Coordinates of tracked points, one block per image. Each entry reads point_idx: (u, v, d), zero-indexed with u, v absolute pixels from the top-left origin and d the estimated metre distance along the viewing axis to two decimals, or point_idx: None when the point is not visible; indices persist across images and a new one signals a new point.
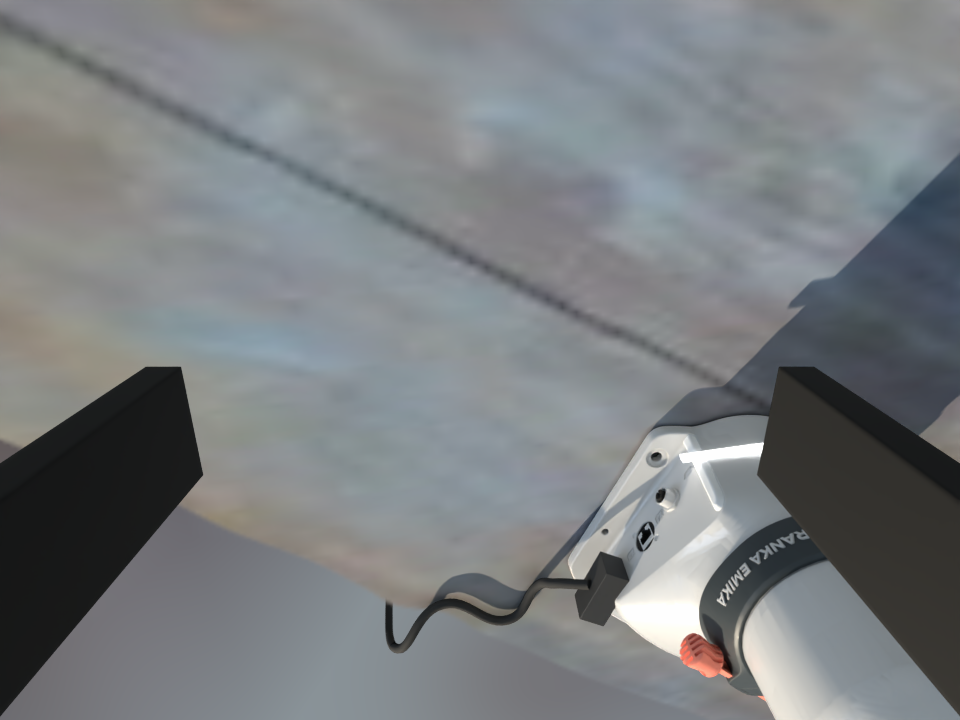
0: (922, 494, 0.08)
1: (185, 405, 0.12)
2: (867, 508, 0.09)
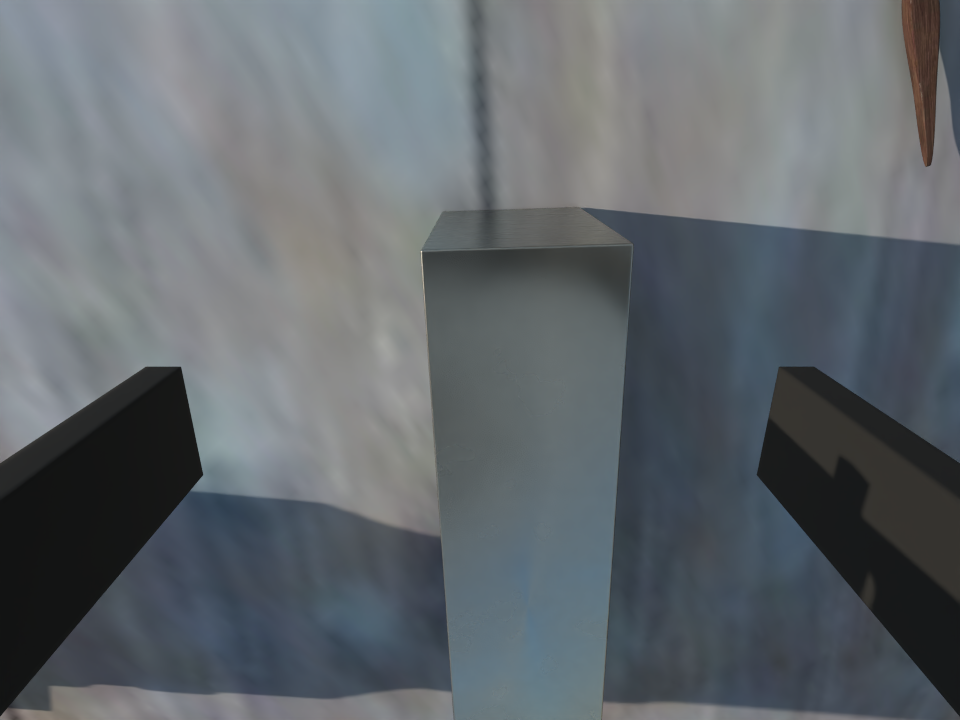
0: (922, 494, 0.08)
1: (184, 405, 0.12)
2: (867, 508, 0.09)
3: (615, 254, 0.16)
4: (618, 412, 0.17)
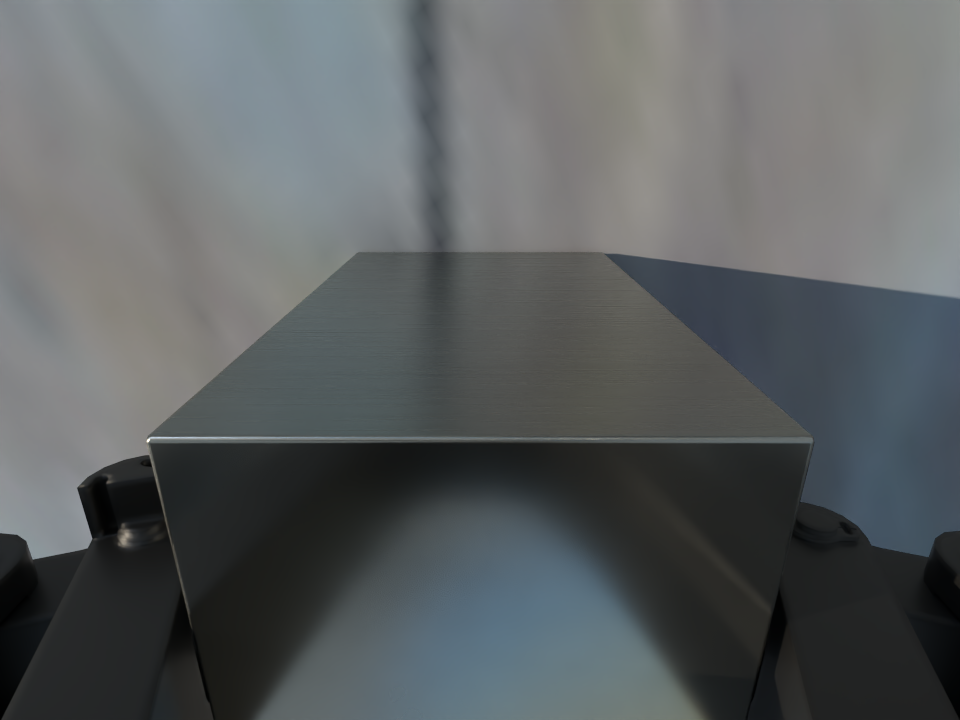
0: None
1: None
2: None
3: (758, 466, 0.05)
4: None
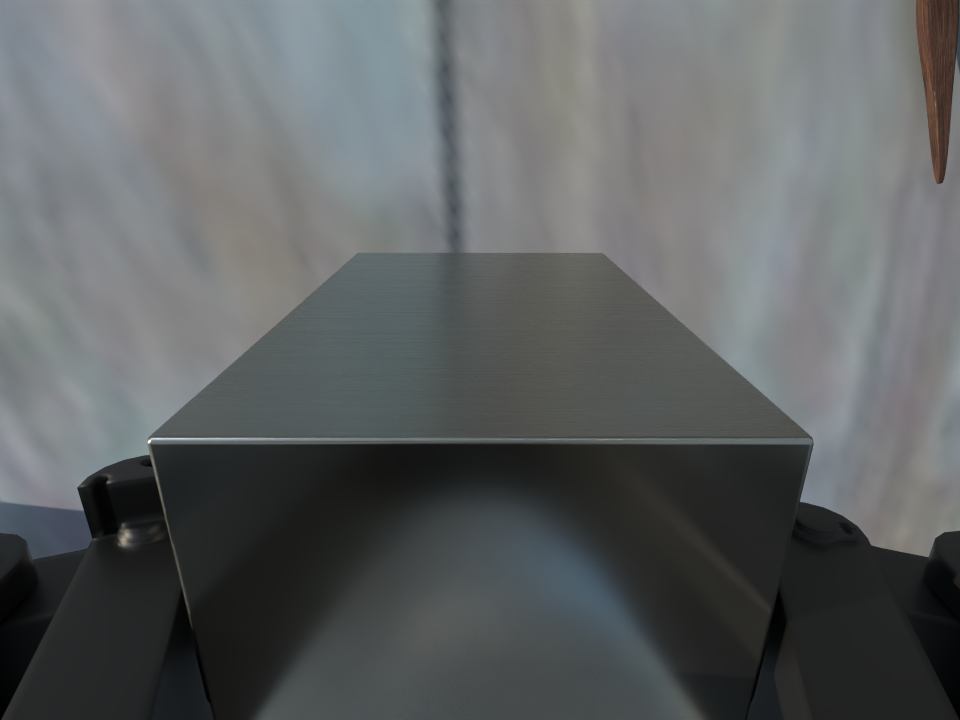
0: None
1: None
2: None
3: (756, 468, 0.05)
4: None
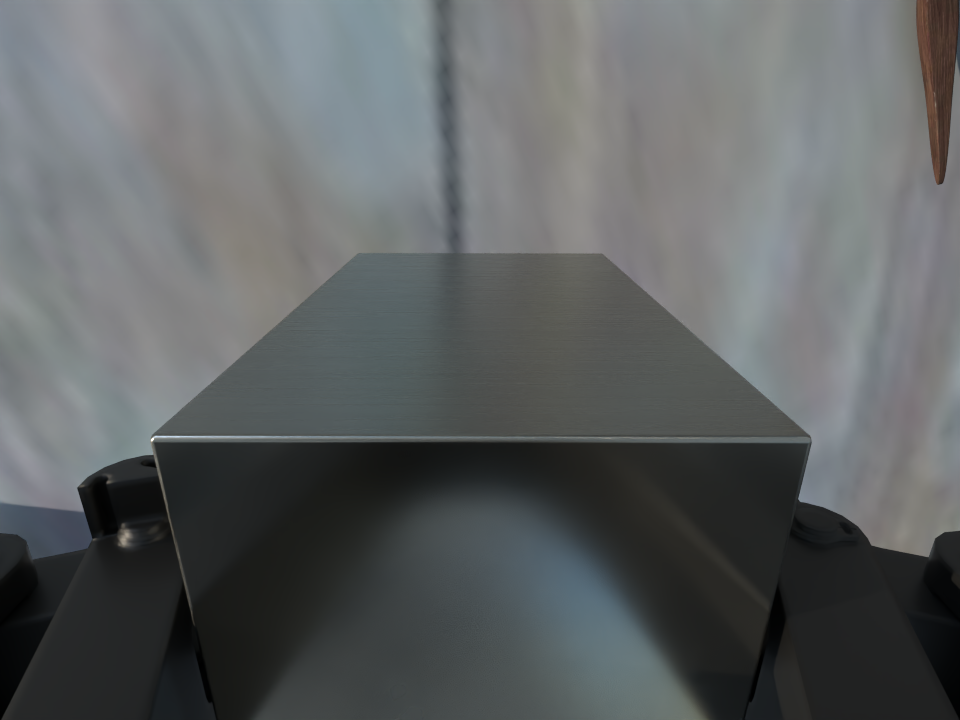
0: None
1: None
2: None
3: (755, 466, 0.05)
4: None
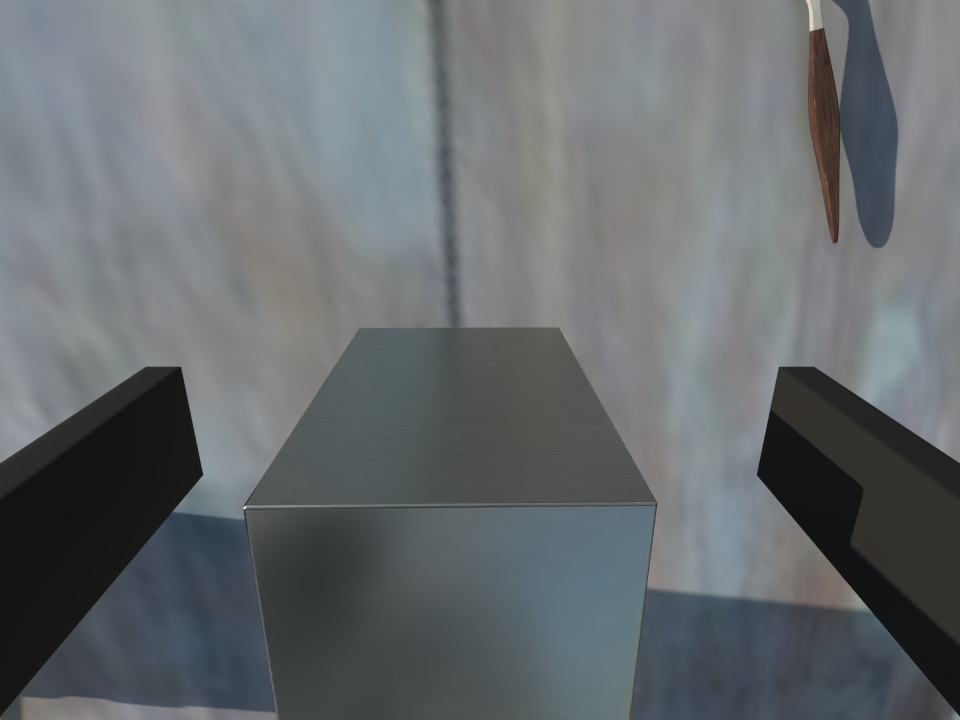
0: (922, 494, 0.08)
1: (184, 405, 0.12)
2: (867, 508, 0.09)
3: (623, 520, 0.08)
4: None
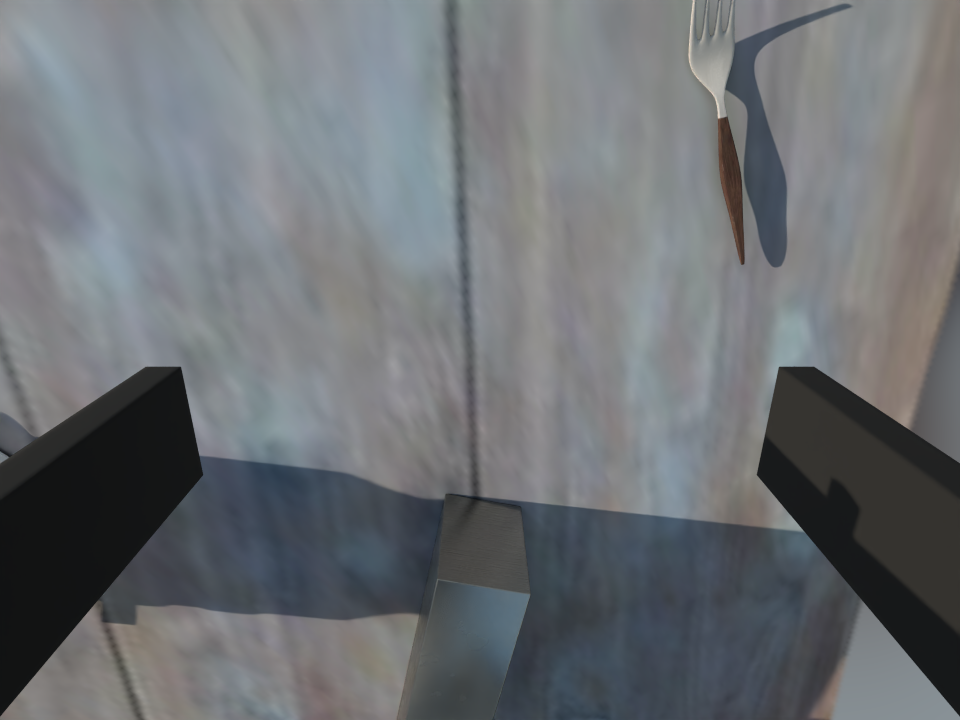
0: (922, 494, 0.08)
1: (185, 405, 0.12)
2: (867, 508, 0.09)
3: (522, 596, 0.35)
4: (510, 655, 0.37)
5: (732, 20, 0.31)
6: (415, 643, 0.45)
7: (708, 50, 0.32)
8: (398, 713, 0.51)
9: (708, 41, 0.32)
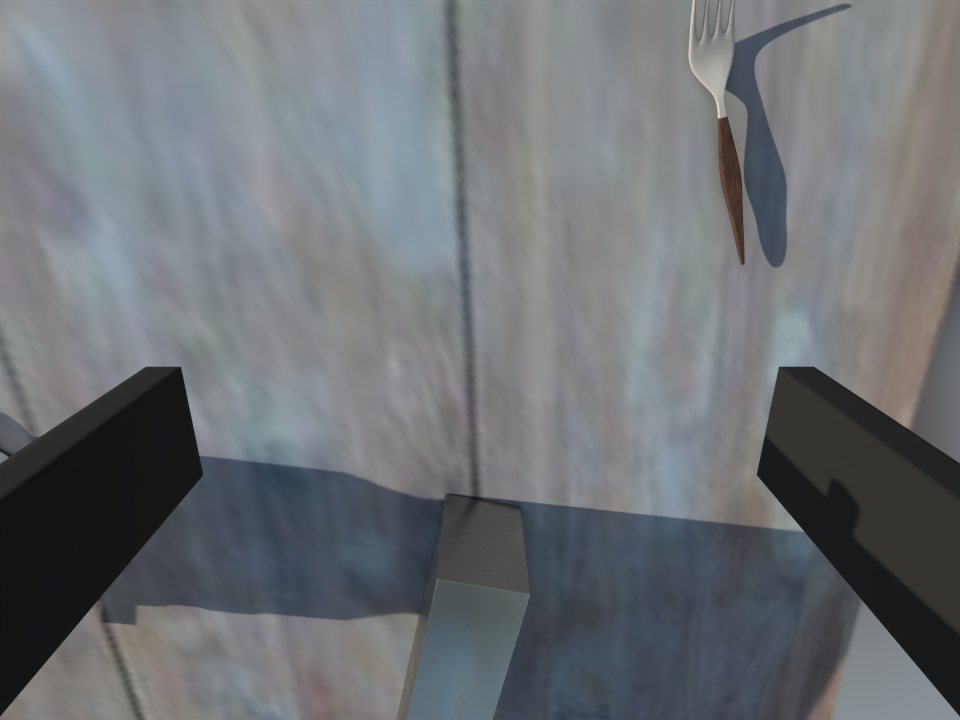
0: (922, 494, 0.08)
1: (185, 405, 0.12)
2: (867, 508, 0.09)
3: (522, 596, 0.35)
4: (510, 655, 0.37)
5: (732, 20, 0.31)
6: (415, 643, 0.45)
7: (708, 50, 0.32)
8: (398, 713, 0.51)
9: (708, 41, 0.32)
